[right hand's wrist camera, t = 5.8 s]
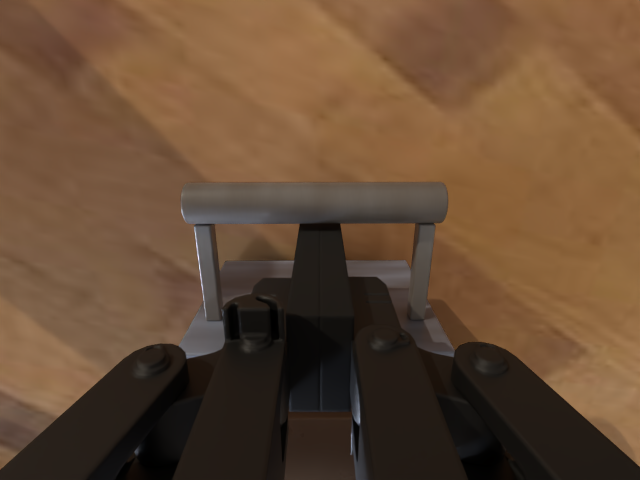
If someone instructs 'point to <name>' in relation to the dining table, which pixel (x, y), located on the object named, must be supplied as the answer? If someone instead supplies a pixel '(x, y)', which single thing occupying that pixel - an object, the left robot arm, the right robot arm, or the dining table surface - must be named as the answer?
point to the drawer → (314, 208)
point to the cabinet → (319, 446)
